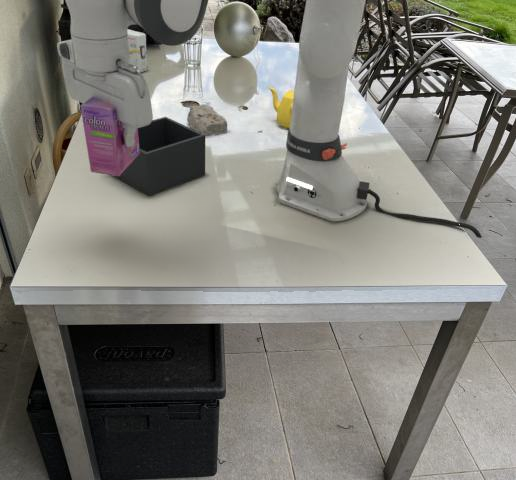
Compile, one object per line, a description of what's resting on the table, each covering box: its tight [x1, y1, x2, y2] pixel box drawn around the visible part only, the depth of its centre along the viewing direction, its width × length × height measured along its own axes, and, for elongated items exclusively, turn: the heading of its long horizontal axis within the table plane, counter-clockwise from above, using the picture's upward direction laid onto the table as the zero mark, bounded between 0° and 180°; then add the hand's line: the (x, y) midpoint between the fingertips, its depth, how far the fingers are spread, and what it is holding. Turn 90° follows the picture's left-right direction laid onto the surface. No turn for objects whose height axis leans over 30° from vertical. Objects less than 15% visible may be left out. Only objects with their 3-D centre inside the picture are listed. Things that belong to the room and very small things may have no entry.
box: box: [80, 97, 140, 177], centre depth 95 cm, size 10×6×12 cm, turn 168°
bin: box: [115, 116, 206, 197], centre depth 128 cm, size 15×18×10 cm
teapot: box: [267, 86, 294, 129], centre depth 158 cm, size 14×13×10 cm
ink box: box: [127, 28, 148, 73], centre depth 186 cm, size 9×5×12 cm, turn 62°
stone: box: [186, 104, 229, 136], centre depth 154 cm, size 13×6×10 cm
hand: (113, 137), depth 96 cm, fingers closed on box, 7 cm apart
